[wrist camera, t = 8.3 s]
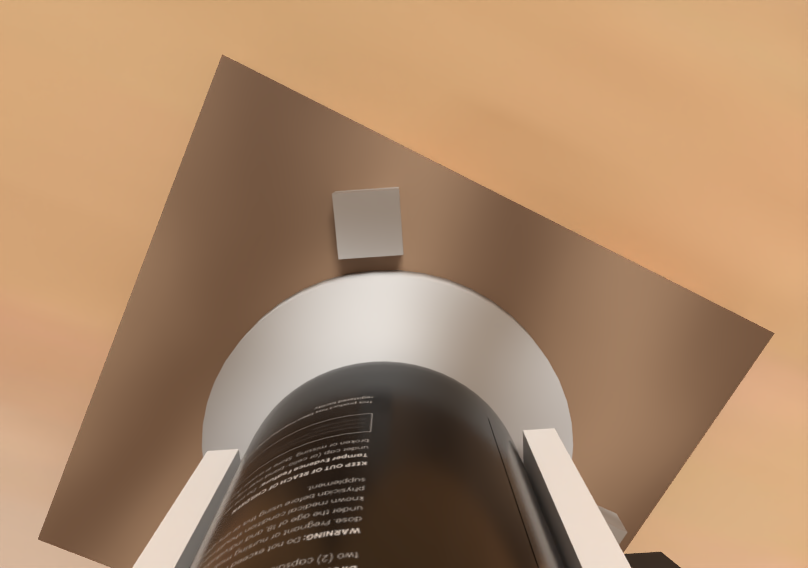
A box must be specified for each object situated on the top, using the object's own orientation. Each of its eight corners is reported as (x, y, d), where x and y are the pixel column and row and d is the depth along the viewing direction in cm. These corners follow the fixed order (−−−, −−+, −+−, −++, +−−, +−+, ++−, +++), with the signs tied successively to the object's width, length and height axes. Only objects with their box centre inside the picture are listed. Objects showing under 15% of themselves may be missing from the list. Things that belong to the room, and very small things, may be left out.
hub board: (62, 513, 17) (19, 559, 15) (237, 62, 14) (210, 48, 12) (501, 684, 19) (513, 745, 17) (746, 319, 16) (795, 343, 14)
